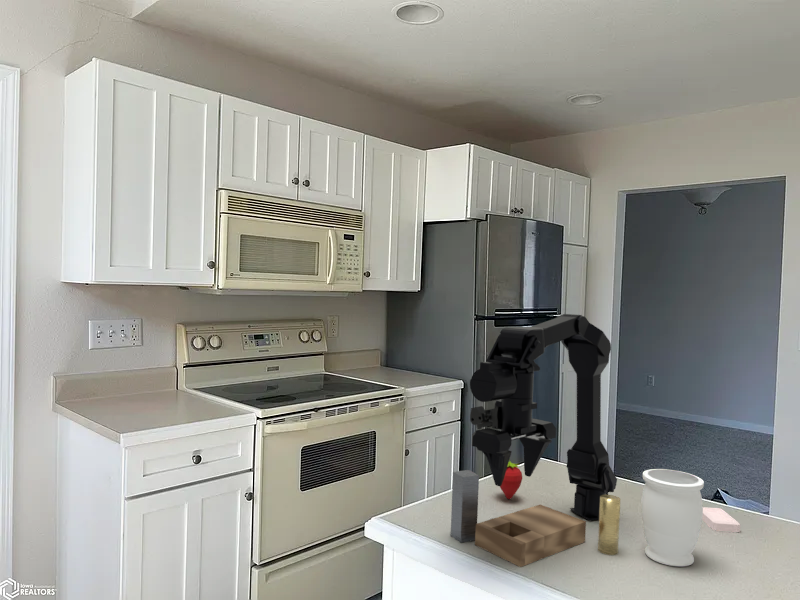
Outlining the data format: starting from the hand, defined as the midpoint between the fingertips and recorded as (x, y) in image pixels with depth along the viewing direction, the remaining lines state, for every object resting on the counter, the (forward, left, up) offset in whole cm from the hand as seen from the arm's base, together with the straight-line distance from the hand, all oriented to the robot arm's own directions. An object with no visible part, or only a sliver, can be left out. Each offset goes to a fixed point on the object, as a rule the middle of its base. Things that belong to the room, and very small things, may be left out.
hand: (513, 480), depth 113 cm
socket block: (-6, -1, -13) cm, 14 cm away
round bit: (-18, +6, -13) cm, 23 cm away
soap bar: (-51, +3, -14) cm, 53 cm away
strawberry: (-16, -24, -13) cm, 31 cm away
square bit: (+5, -8, -13) cm, 16 cm away
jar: (-27, +12, -13) cm, 32 cm away
